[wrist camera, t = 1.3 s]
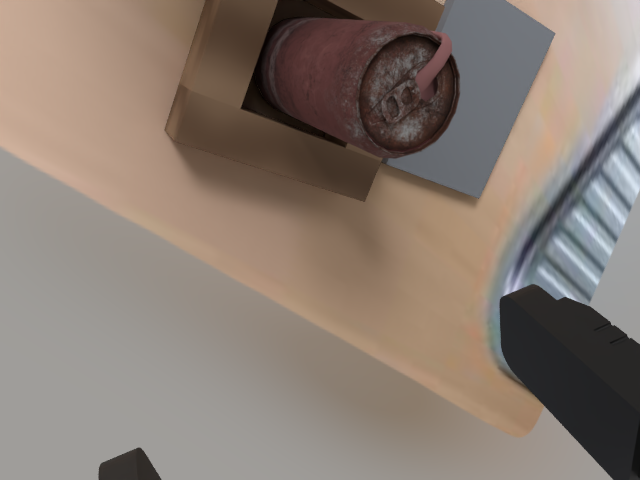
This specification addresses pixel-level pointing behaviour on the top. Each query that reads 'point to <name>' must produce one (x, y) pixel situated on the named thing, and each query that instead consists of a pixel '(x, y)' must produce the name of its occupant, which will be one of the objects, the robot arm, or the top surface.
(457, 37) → the mat
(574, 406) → the robot arm
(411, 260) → the top surface
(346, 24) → the can
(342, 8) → the box
